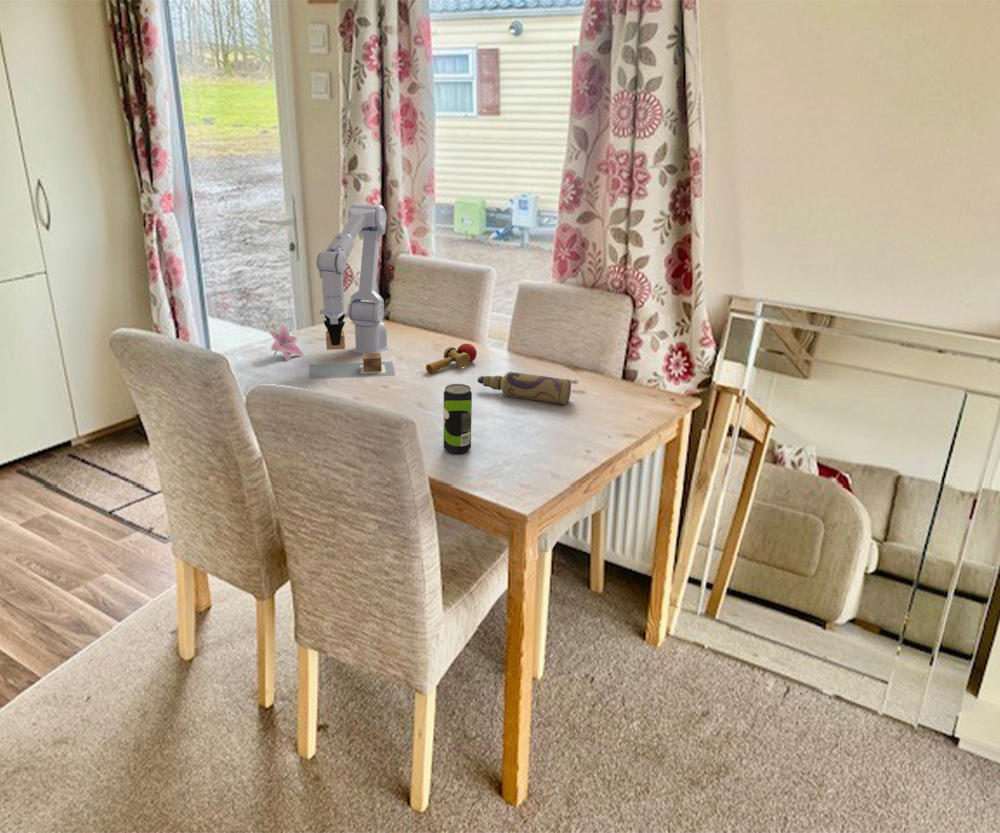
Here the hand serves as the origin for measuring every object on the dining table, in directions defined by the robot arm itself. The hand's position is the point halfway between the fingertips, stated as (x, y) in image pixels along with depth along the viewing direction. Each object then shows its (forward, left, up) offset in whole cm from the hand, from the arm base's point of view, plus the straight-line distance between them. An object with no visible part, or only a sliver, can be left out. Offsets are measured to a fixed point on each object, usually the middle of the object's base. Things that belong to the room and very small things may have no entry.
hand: (335, 341), depth 220 cm
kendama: (-25, +22, -9) cm, 34 cm away
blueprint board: (-3, +3, -9) cm, 10 cm away
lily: (+2, -20, -9) cm, 23 cm away
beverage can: (+18, +60, -9) cm, 63 cm away
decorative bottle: (-20, +52, -9) cm, 57 cm away
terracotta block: (0, 0, -1) cm, 1 cm away
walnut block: (-7, +7, -8) cm, 13 cm away
